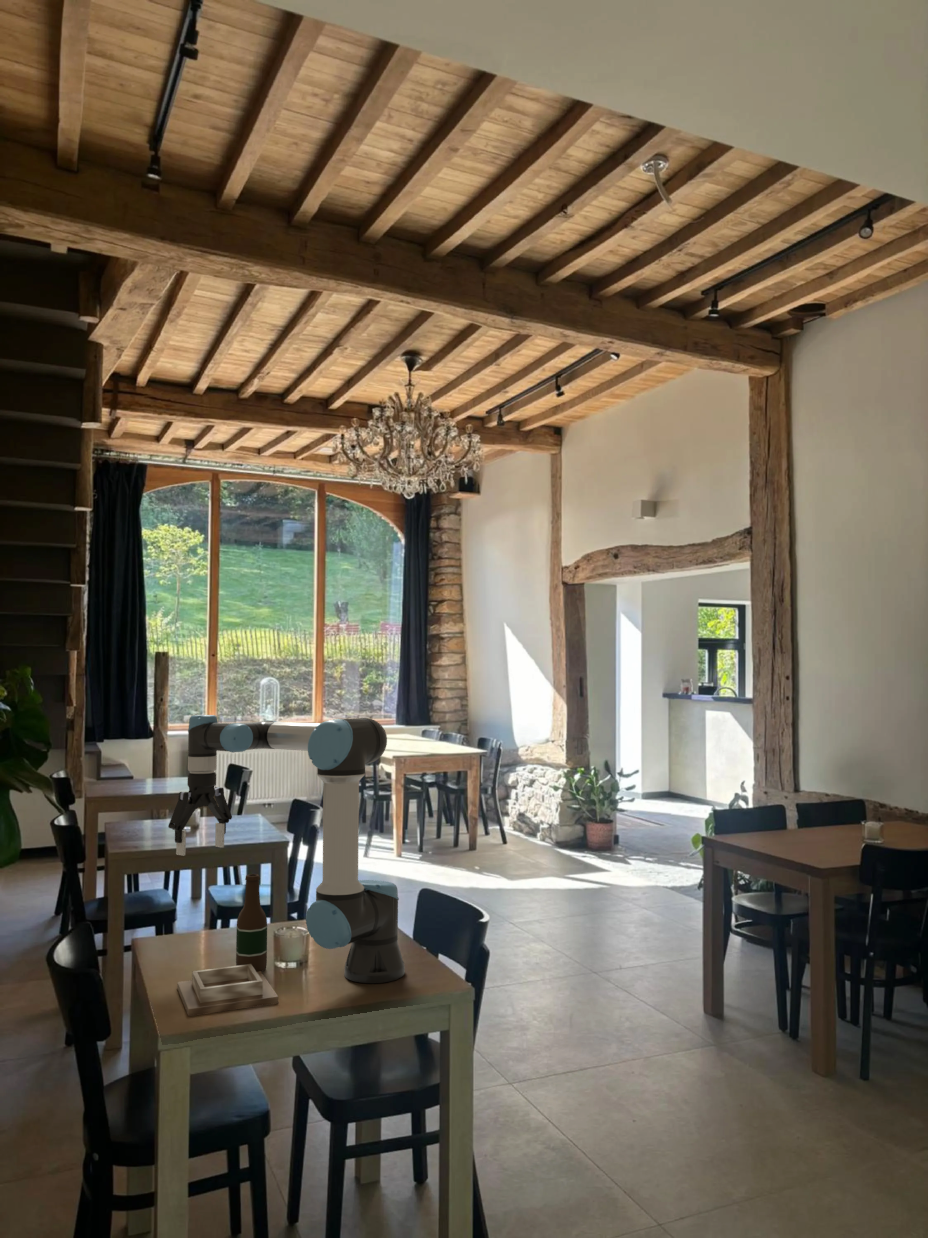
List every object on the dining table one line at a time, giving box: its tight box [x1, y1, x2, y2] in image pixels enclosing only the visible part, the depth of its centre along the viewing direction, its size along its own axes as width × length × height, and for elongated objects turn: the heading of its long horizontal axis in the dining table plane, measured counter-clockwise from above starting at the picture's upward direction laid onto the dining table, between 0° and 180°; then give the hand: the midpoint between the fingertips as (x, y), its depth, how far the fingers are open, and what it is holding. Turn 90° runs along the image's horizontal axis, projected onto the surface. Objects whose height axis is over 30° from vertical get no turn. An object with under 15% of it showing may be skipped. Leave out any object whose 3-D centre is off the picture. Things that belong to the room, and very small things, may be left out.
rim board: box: [177, 964, 279, 1017], centre depth 217 cm, size 20×20×4 cm
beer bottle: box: [235, 873, 268, 973], centre depth 236 cm, size 8×8×24 cm
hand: (200, 851), depth 249 cm, fingers open, 13 cm apart
